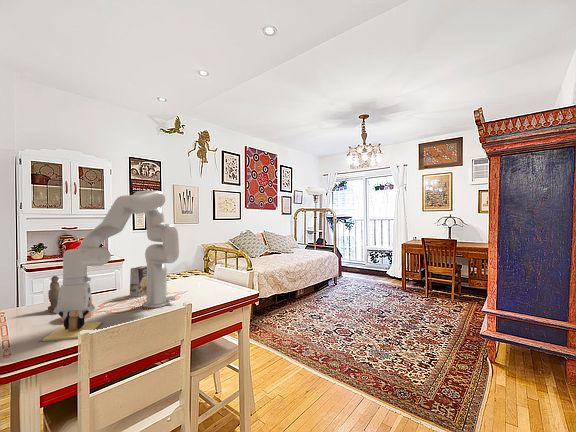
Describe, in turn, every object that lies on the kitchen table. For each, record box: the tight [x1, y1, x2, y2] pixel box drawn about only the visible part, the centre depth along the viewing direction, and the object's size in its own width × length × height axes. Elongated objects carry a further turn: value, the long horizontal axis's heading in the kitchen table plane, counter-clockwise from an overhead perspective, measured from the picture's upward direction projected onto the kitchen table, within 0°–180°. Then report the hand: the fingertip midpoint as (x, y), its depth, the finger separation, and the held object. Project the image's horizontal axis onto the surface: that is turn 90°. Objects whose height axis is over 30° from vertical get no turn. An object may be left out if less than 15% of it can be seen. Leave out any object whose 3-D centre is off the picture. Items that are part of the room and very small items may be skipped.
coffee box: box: [129, 265, 147, 298], centre depth 164 cm, size 9×6×16 cm
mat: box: [36, 322, 105, 344], centre depth 109 cm, size 16×16×1 cm
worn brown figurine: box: [47, 275, 61, 315], centre depth 135 cm, size 12×6×18 cm, turn 54°
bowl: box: [60, 307, 94, 323], centre depth 125 cm, size 11×11×5 cm
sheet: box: [42, 316, 102, 341], centre depth 109 cm, size 14×14×6 cm
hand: (74, 327), depth 109 cm, fingers closed on sheet, 3 cm apart
